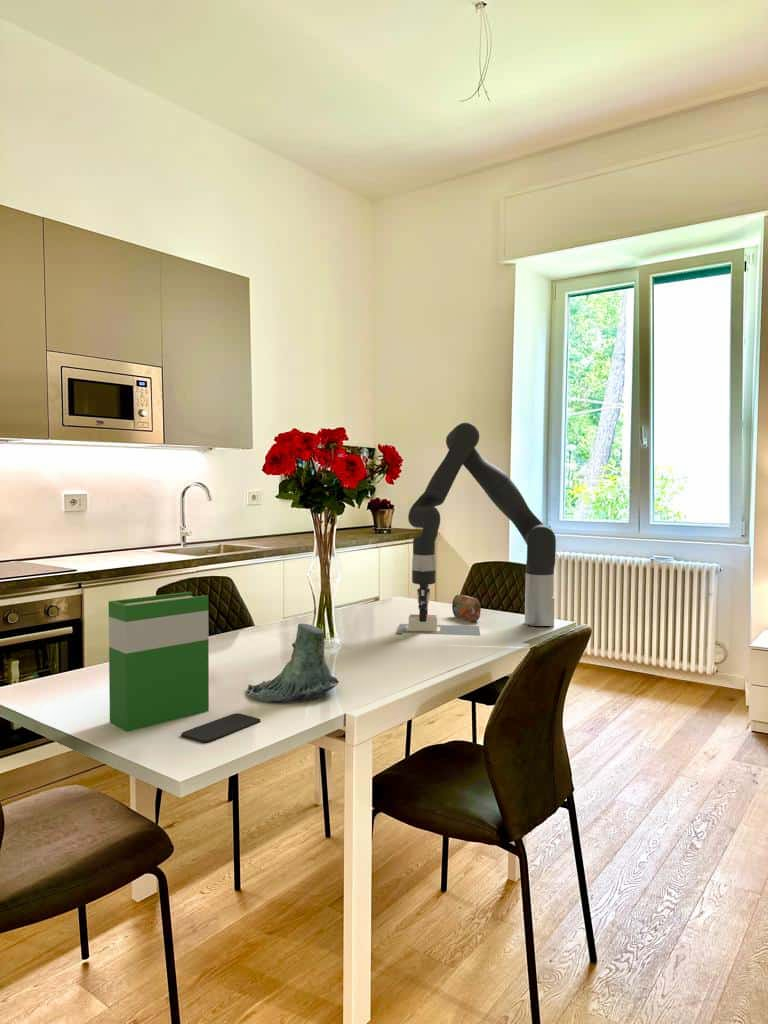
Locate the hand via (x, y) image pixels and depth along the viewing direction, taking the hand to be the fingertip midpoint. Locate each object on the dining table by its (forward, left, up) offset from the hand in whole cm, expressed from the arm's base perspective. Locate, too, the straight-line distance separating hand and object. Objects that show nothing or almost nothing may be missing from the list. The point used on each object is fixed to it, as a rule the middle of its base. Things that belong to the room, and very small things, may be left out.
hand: (423, 618), depth 228 cm
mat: (-5, 0, -4) cm, 6 cm away
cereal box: (+49, +90, -4) cm, 102 cm away
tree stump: (+26, +70, -4) cm, 75 cm away
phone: (+34, +95, -4) cm, 101 cm away
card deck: (0, 0, -3) cm, 3 cm away
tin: (-14, -19, -4) cm, 24 cm away
